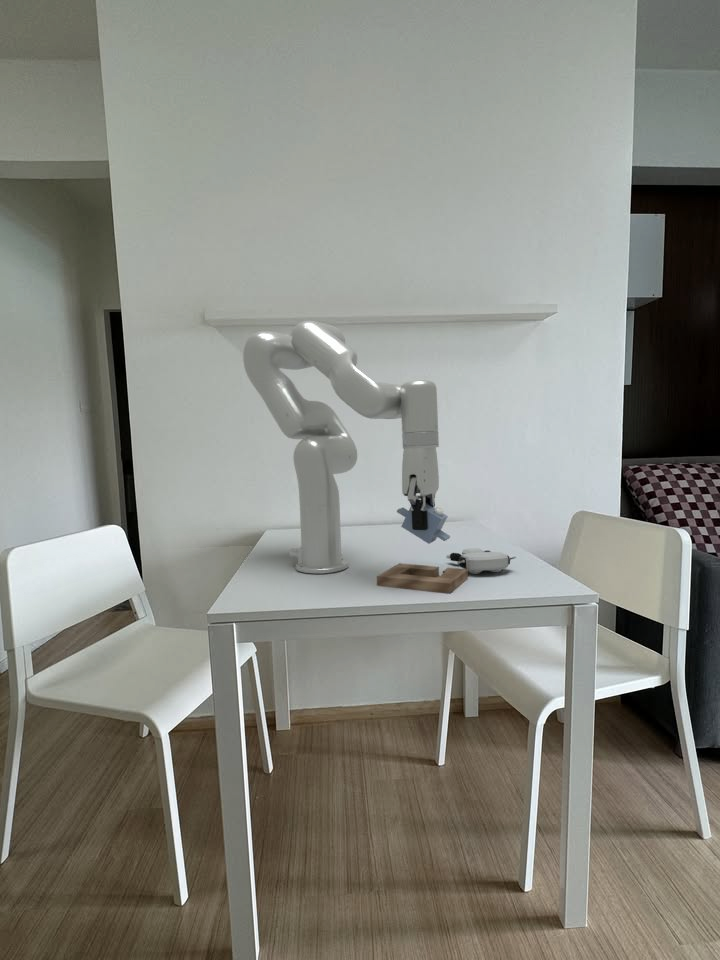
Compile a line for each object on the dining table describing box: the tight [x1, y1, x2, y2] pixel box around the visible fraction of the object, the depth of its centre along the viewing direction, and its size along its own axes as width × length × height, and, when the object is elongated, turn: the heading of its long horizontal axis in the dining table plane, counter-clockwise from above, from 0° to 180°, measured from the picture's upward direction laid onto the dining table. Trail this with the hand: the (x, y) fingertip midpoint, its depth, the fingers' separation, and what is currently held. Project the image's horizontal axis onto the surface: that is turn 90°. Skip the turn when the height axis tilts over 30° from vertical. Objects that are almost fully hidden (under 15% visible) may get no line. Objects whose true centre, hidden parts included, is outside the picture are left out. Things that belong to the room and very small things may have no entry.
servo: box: [396, 499, 451, 545], centre depth 116 cm, size 12×4×7 cm, turn 61°
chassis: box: [376, 563, 469, 594], centre depth 117 cm, size 16×12×2 cm
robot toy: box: [445, 547, 517, 575], centre depth 127 cm, size 12×4×15 cm
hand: (424, 527), depth 116 cm, fingers closed on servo, 3 cm apart
